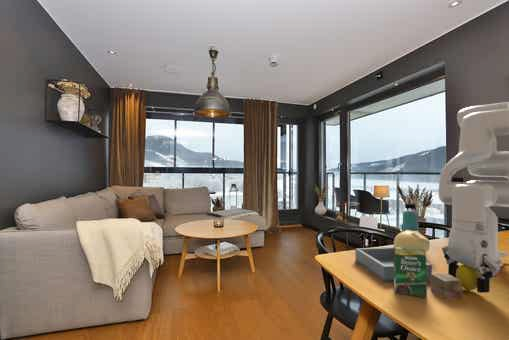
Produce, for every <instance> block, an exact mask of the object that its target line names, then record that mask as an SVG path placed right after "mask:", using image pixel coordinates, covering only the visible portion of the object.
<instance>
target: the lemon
mask: <svg viewBox="0 0 509 340" xmlns="http://www.w3.org/2000/svg"><path fill="white" fill-rule="evenodd" d="M456 278H457V279H459V280H462V284H461V288H463V289H464V290H465V291H467V292H470V291H473V290H477V278H480V277H479V275H478V273H477V272H476V270H475V269H474V268H471V267H469V266H466V265H464V264H461V265H459V267H458V269H457V271H456Z"/></svg>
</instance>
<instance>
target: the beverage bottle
mask: <svg viewBox="0 0 509 340" xmlns="http://www.w3.org/2000/svg"><path fill="white" fill-rule="evenodd" d="M404 208H405V209H409V210H404V211H402V232H404V231H406V230H409V231H410V230H411V231H418V232H420V229H419V213H418V212H417V211H415V210H416V209H417V208H416V204H415V203H405V207H404ZM410 209H411V210H410Z"/></svg>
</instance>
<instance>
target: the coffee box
mask: <svg viewBox="0 0 509 340" xmlns="http://www.w3.org/2000/svg"><path fill="white" fill-rule="evenodd" d="M392 247H393V257H394V282H393V289H394V290H393V291H394V292H395V294H397V295H406V296H412V297H417V298H418V297H419V298H427V297H428V295H427V294H428V287H427V285H428V284H427V282H428V280H427V276H426V262H427V252H426V251H425V250H424V249H417V248H415V249H414V248H402V247H394V246H392Z"/></svg>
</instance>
